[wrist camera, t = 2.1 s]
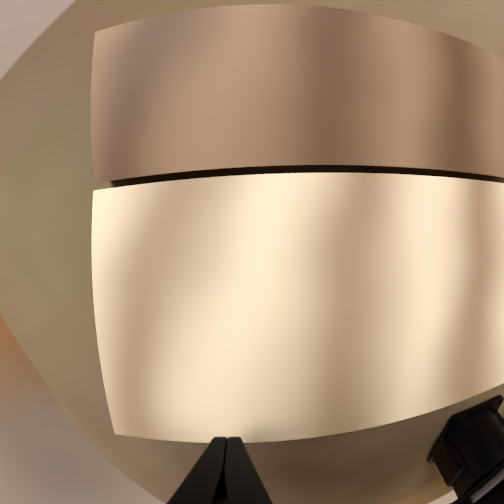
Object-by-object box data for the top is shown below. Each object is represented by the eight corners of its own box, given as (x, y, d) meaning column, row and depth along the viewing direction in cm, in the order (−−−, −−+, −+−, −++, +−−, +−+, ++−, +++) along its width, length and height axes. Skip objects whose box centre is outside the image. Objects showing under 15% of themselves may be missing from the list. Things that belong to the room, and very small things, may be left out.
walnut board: (488, 63, 10) (504, 58, 9) (498, 176, 12) (516, 179, 10) (108, 42, 10) (95, 32, 9) (109, 181, 12) (94, 183, 11)
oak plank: (501, 191, 12) (517, 185, 10) (504, 368, 11) (520, 374, 10) (109, 199, 12) (93, 190, 10) (127, 419, 11) (114, 433, 10)
